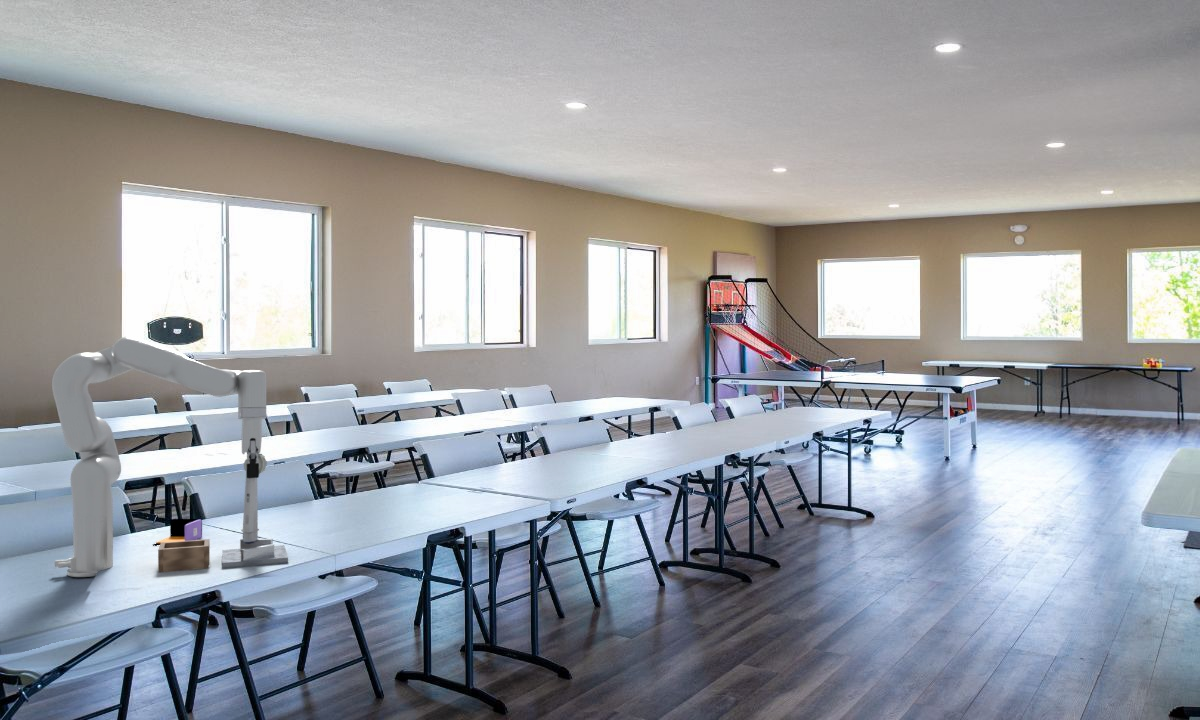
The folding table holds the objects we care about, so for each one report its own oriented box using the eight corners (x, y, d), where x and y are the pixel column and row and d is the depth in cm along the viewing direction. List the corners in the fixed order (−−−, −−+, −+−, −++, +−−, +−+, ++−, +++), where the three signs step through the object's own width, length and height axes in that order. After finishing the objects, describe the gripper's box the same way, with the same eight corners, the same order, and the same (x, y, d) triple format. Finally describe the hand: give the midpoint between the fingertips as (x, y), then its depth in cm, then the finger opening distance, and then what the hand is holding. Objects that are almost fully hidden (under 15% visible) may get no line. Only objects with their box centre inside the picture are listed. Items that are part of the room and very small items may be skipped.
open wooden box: (158, 572, 241) (158, 549, 241) (160, 564, 251) (160, 542, 251) (208, 568, 246) (208, 546, 246) (209, 560, 255) (209, 539, 255)
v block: (221, 568, 245) (221, 551, 245) (222, 555, 262) (222, 539, 262) (288, 562, 252) (287, 546, 252) (284, 550, 269) (284, 535, 269)
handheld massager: (237, 543, 254) (238, 454, 253) (250, 538, 261) (251, 451, 260) (254, 544, 253) (255, 455, 253) (267, 539, 260) (267, 452, 259)
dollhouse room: (207, 539, 287) (207, 518, 287) (189, 547, 275) (189, 525, 275) (169, 539, 287) (169, 518, 287) (150, 547, 275) (150, 524, 275)
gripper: (237, 412, 263) (237, 473, 263) (238, 415, 247) (238, 480, 247) (265, 411, 266) (265, 472, 266) (267, 415, 250) (267, 479, 250)
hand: (252, 475), depth 257 cm, fingers closed on handheld massager, 6 cm apart
